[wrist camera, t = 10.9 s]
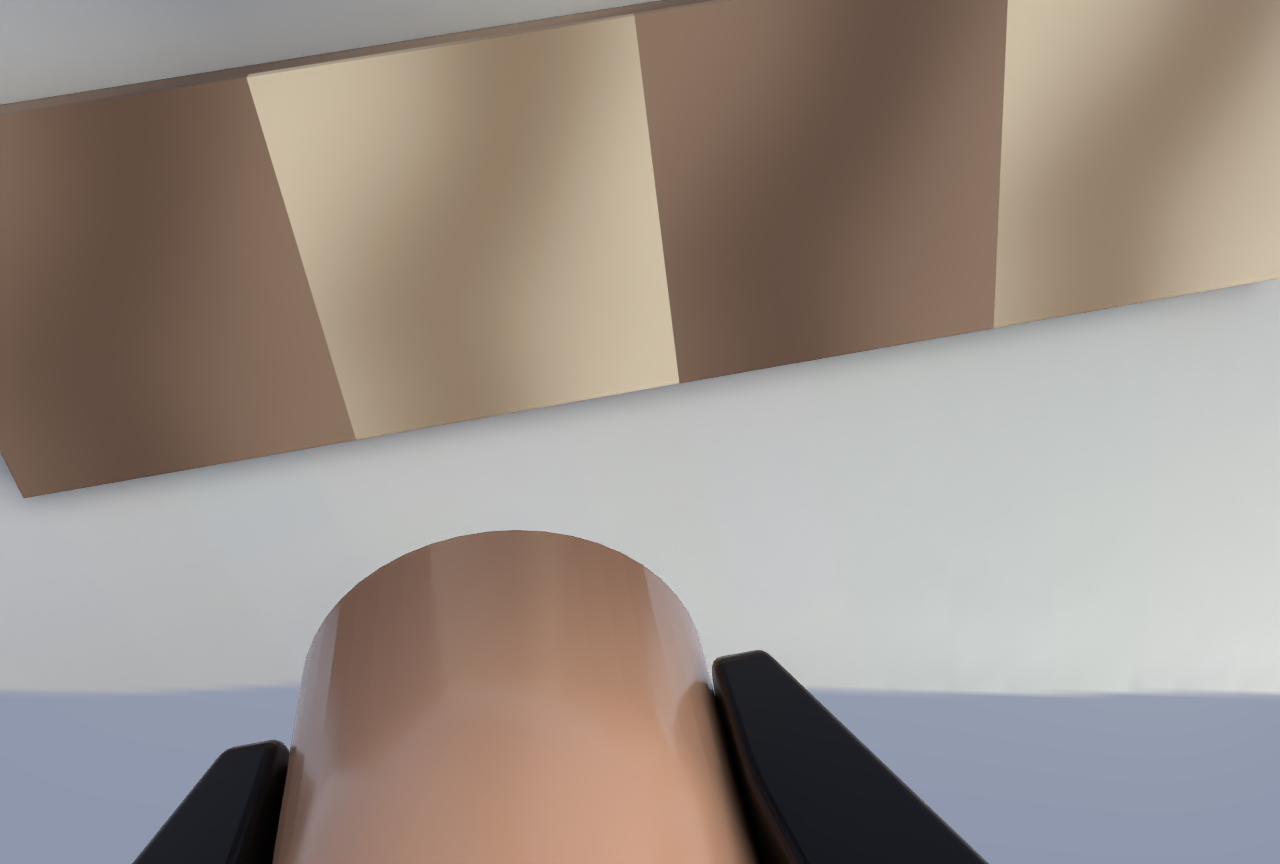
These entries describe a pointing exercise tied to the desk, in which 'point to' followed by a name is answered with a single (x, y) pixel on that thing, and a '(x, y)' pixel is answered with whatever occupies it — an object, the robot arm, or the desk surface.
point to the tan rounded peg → (510, 717)
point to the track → (606, 212)
